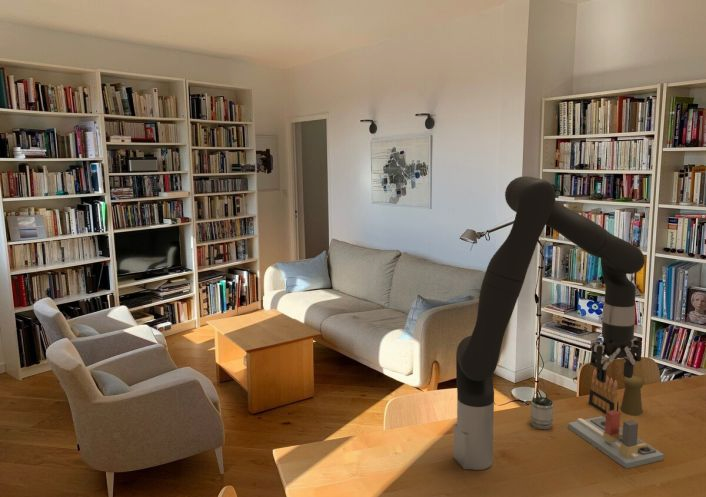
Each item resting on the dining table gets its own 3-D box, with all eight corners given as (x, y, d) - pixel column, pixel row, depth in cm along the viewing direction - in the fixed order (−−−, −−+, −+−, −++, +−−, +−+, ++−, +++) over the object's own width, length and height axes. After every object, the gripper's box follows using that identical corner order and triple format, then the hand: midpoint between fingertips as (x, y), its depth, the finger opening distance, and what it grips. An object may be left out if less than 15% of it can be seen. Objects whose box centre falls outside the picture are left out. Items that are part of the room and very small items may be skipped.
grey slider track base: (626, 468, 136) (628, 430, 134) (567, 427, 157) (569, 394, 155) (663, 459, 140) (666, 422, 138) (601, 420, 160) (603, 387, 159)
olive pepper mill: (643, 409, 167) (645, 375, 165) (641, 417, 162) (644, 382, 160) (621, 404, 170) (623, 371, 168) (619, 412, 165) (621, 378, 163)
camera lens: (526, 425, 159) (527, 400, 157) (535, 417, 163) (536, 393, 162) (547, 432, 155) (548, 406, 153) (556, 424, 159) (557, 399, 158)
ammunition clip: (618, 418, 162) (620, 380, 160) (613, 419, 161) (615, 381, 159) (593, 402, 172) (595, 367, 170) (588, 403, 171) (590, 368, 169)
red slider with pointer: (610, 443, 144) (611, 415, 142) (602, 438, 146) (604, 411, 145) (631, 438, 146) (633, 411, 144) (624, 434, 148) (626, 406, 147)
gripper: (606, 327, 134) (603, 389, 137) (652, 321, 138) (647, 380, 141) (585, 319, 141) (582, 377, 144) (629, 313, 145) (625, 370, 148)
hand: (614, 379), depth 142 cm, fingers open, 8 cm apart
